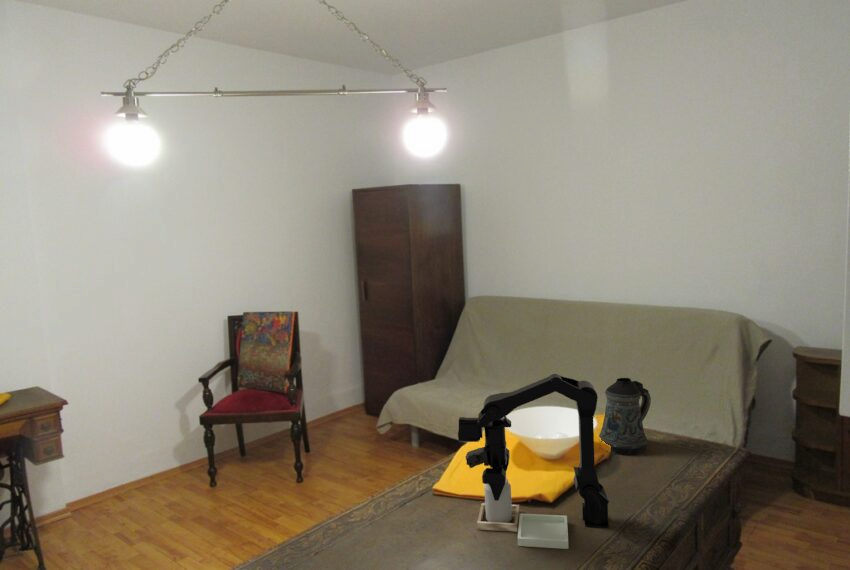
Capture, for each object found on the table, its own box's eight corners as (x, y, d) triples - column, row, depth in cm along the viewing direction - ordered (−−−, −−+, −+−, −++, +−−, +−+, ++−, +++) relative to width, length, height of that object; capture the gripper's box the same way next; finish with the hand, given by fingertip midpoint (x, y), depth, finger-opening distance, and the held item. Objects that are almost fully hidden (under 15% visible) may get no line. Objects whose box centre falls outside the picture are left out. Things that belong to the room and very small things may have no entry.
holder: (519, 511, 173) (519, 504, 173) (517, 531, 162) (517, 524, 162) (481, 509, 176) (481, 503, 175) (477, 529, 165) (476, 522, 164)
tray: (567, 522, 165) (566, 515, 165) (568, 548, 153) (568, 541, 153) (520, 520, 168) (519, 513, 168) (517, 545, 156) (517, 538, 155)
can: (511, 527, 165) (509, 486, 163) (484, 526, 166) (482, 486, 165) (513, 514, 172) (511, 474, 170) (487, 512, 173) (485, 474, 172)
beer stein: (591, 449, 214) (589, 382, 211) (613, 432, 228) (611, 369, 225) (637, 459, 203) (636, 389, 200) (656, 441, 218) (655, 375, 215)
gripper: (471, 428, 177) (473, 477, 179) (462, 453, 159) (465, 508, 161) (508, 429, 174) (510, 479, 176) (503, 455, 156) (506, 510, 158)
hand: (497, 493), depth 168 cm, fingers closed on can, 7 cm apart
